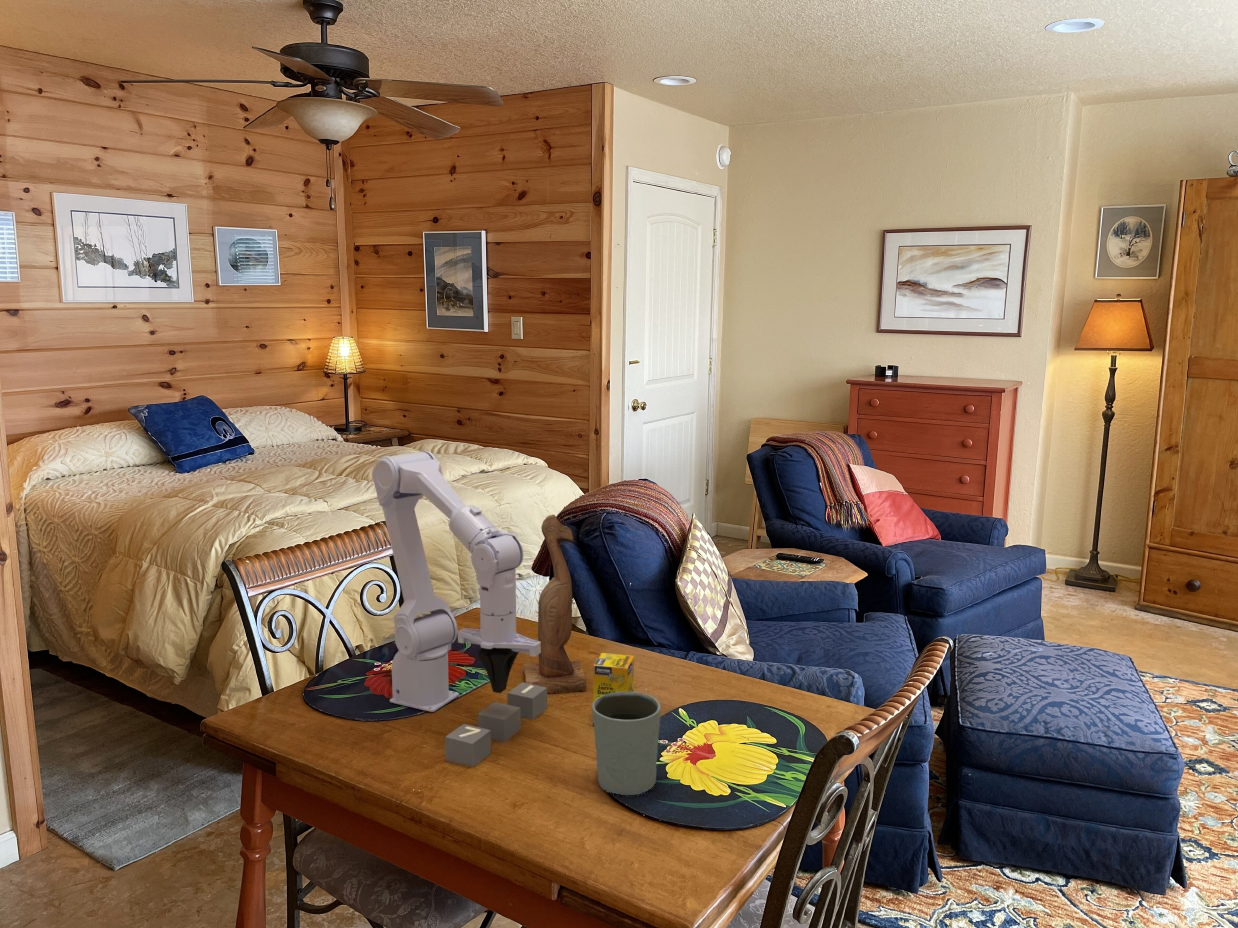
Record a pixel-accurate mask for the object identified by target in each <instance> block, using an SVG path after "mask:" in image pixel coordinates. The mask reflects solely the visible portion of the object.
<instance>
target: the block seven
mask: <svg viewBox="0 0 1238 928" xmlns="http://www.w3.org/2000/svg"><path fill="white" fill-rule="evenodd" d="M444 741H445V761H446V762H451V763H453V764H454V763H455V764H459V765H463V766H466V767H469V768H475V766H477V765H478V764H479V763H481V762H482V761H483V760H484V759H486V758H487V757H488V756H490V755H491V754H492V739H491V730H488V729H484V728H479V727H478V726H474V725H471V724H468V723H467V724H466V723H463V724H461V725H460V726H458V727H457V728H456V729H455V730H453V731H452V732H450V733H449V734H447V735H446V736H445V737H444Z"/></svg>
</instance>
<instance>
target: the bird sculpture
mask: <svg viewBox="0 0 1238 928" xmlns="http://www.w3.org/2000/svg"><path fill="white" fill-rule="evenodd" d="M540 529H541V532H542V535H543V537H544V540H545V543H546V546H547V549H548V551H549V552H548V553H549V555H550V560H551V563H552V567H553V576H554V577H552V578H551V580H549V581H548V582H547V583H546V585H544V588H543V589H542V590H541V593H540V596H539V597H538V601H537V603H538V609H537V610H538V611H537V614H538V615H537V617H538V618H537V641H540V642H541V653H540V654H538V655H537V656H538V662H532V663H531V662H530V663H522V668H523V671H522V672H523V673H524V675H525V678H524V679H525V683H528V684H533V685H538V686H542V687H547V694H548V695H550V694H554V693H555V694H560V693H561V694H563V693H564V694H567V693H577V692H586V689H587V685H586V684H587V680H586V679H587V678H586V676H585V673H584V669H583V668H582V667H581V666H582V663H581V660H580V659H577V660H576V659H575V660H571V659H570V658H569V656H568V653H567V651H566V649H565V645H566V644H567V643H568V642H569V640H570V638H571V635H572V629H573V588H572V585H573V584H572V578H571V574H570V570H569V567H568V565H567V561H566V560H565V557H564V554H563V551H562V548H561V545H560V544H561V543H563V542H567V543H572V544H573V543H574V536H573V532H572V530H571V528H570V527H568V526H566V525H564V524H562V522H561V521H559V520H558V518H557V516H556V515H555V514H549V515H548V516H546V517H545V519H544V520H543V521H542V524H541V527H540Z"/></svg>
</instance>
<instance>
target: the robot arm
mask: <svg viewBox="0 0 1238 928" xmlns="http://www.w3.org/2000/svg"><path fill="white" fill-rule="evenodd" d="M441 464H442V463H441V462H440V461H439V460H437V458H436V457H435V455H434V454H433V453H432V452H431V451H429V450H421V451H419V452H412V453H404V454H399V455H398V454H397V455H391V456H388V455H384V456H381V457H379V458H378V459H377V462H376V463H375V465H374V468H373V471H372V473H371V475H372V479H373V482H374V489H375V493H376V496H377V500H378V505H379V506H380V507H382V511H383V516H384V519H385V520H384V521H385V524H386V529H387V532H388V533H387V534H388V538H389V543H390V546H391V552H392V554H393V560H394V562H395V563H394V564H395V567H396V571H397V575H398V581H399V584H400V589H401V593H402V598H403V603H402V605H401V606H400V607H399V609H398V610H397V612H396V613H395V614H394V616H393V621H394V642H395V645H396V648H397V650H398V651H397V652H396V653H395V655H394V657H393V659H392V663H391V681H392V683H391V685H392V686H391V688H392V691H391V692H392V697H391V698H390V699H389V703H391V704H392V703H393V704H396V705H400V706H404V707H405V706H406V707H410V708H413V709H418V710H422V711H427V712H429V713H434V712H436V711H437V710H439V709H440V708H442V707H444V706H446V705H447V704H448V703H450V702H451V701H452V700H454V699H456V698H458V697H459V696H460V693H459V692H457V691H452V690H449V689H450V687H449V654H448V652H449V651H450V650H452V644H453V643H454V642H456V640H457V643H458V644H459V643H460V644H465V643H466V644H467V643H468V644H473V645H478V646H480V648H481V650H479V651H477V658H478V659H479V660H480V662H481V663H482V665H483V667H484V670H485V671H486V674H487V676H488V679H489V683H490V685H491V690H492V692H493V693H496V694H501V693H502V692H504V691H505V690H506V689H507V687H508V680H509V677H510V674H511V670H512V668H513V665H514V662H515V660H516V658H517V657H518V655H519V653H521V654H526V655H529V657H532V658H535V657H537V656H538V654H540V653H541V642H540V641H538V640H535V639H532V638H529V637H527V636H524V635H522V634H519V633H518V632H517V582H516V581H517V580H516V578H517V574H516V572H517V571H516V570H517V568H519V567H520V566H521V565H522V562H523V560H524V549H523V546H522V544H521V541H520V540H519V539H518V537H517V536H516V535H515V534H513V533H510V532H508V533H507V532H505V531H503V530H499V529H498V528H497V527H496V525H494V524H493V523H492V521H490V519H489V518H488V517H487V516H486V515H485V513H483V512H482V511H483V510H482V509H480V507H479V506H476V505H472V504H470V505H469V504H468V505H466V504H465V503H464V502H463V500H462V499H461V497H460V496H459V495H458V493H457V492H456V491H455V490H454V488H453V487H452V486H451V485H450V483H449V482H448V481H447V480H446V479H445V477H444V476H443V474H442V465H441ZM424 497H425V498H426V499H427V500H428V502H429V501H430V503H432V504H433V506H435V507H436V508H437V509H438V510H439V511H440V512H441V513H443V514H444V516H446V518H448V519H449V521H448V522H449V523H448V529H449V530H450V532H451V533H452V534H453V535H454V536H455V537H456V539H458V541H459V542H460V543H461V544H462V545H463V546H464V547H465V548H466V550H467V551H468V552H469V553H470V560H471V565H472V567H473V569H474V571H475V575H476V578H475V579H476V582H477V585H479V613H480V615H479V616H480V620H479V621H480V629H478V628H468V627H463V628H462V629H460V630H458V623H457V620H456V619H455V617H454V615H453V614H452V612H451V610H450V605H449V602H448V601H446V600H445V599H443V598H441V597H439V596H437V595H436V594H435V592H434V587H433V586H434V585H433V582H432V578H431V572H430V571H429V570H430V569H429V565H428V561H427V556H426V553H425V552H426V551H425V547H424V544H423V540H422V536H421V532H420V528H419V522H418V518H417V515H416V511H415V509H416V506H417V504H418V502H419V500H421V499H423V498H424ZM428 613H429V614H428ZM423 614H426V615H423ZM420 615H422V616H420ZM418 616H419V617H418Z"/></svg>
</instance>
